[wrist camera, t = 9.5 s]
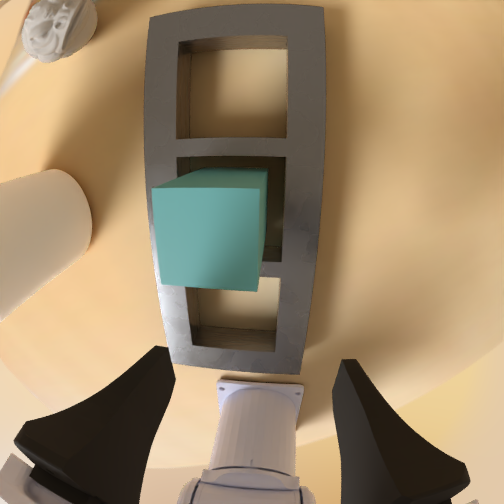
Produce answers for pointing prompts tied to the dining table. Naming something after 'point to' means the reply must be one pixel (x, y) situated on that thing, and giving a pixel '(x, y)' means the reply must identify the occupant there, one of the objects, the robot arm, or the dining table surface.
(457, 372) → the dining table surface
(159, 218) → the square peg
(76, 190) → the beverage can
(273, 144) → the rail
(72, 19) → the grey lumpy piece
